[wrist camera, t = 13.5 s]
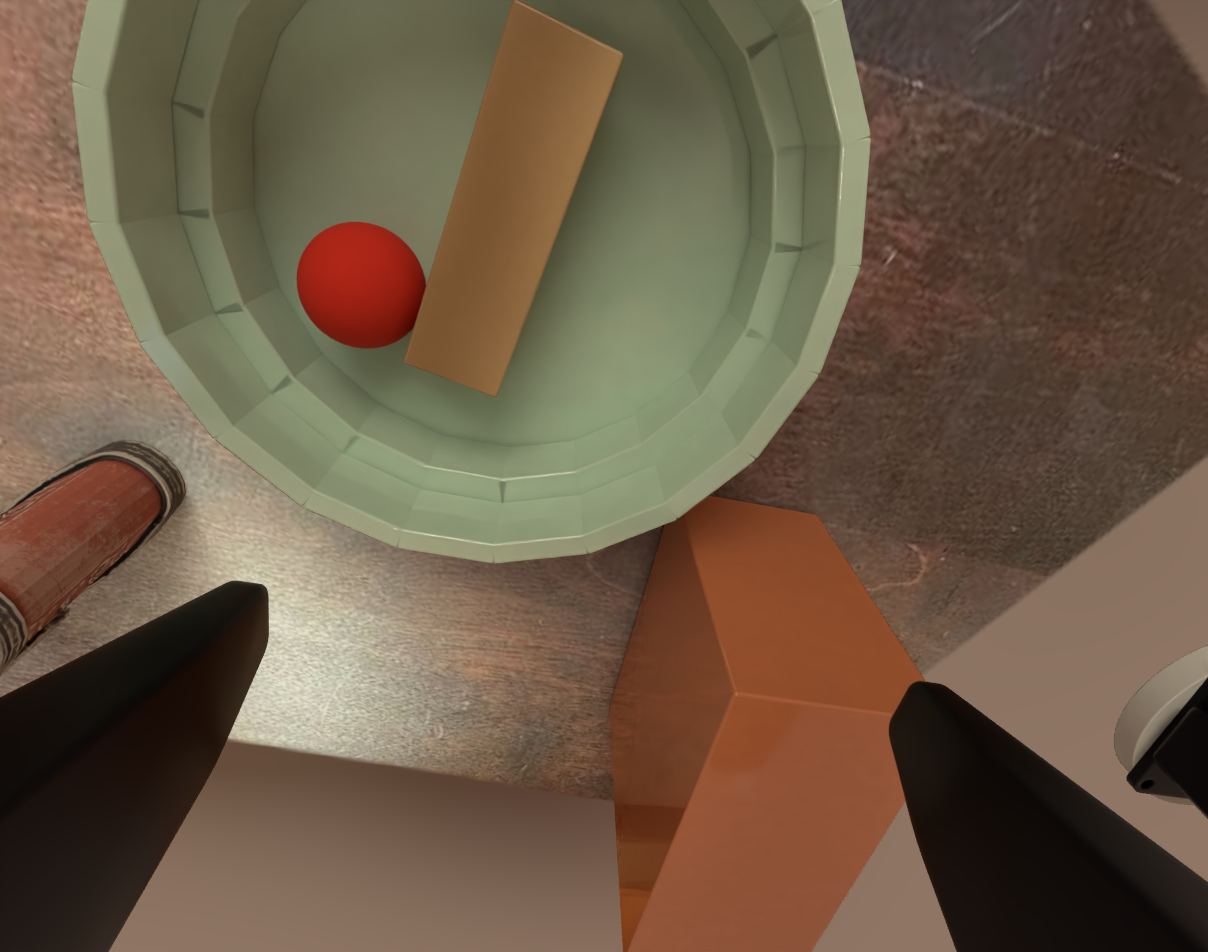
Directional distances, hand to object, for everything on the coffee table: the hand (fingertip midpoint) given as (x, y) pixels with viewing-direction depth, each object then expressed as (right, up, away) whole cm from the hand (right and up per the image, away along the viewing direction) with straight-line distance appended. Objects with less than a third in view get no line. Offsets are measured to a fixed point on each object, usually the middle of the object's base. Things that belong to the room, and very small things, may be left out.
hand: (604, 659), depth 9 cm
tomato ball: (-6, +7, +7) cm, 12 cm away
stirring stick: (-2, +9, +8) cm, 12 cm away
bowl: (-3, +9, +9) cm, 13 cm away
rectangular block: (+4, -3, +15) cm, 16 cm away
